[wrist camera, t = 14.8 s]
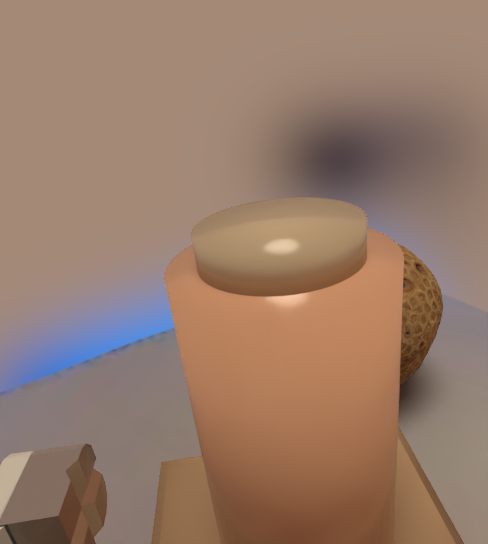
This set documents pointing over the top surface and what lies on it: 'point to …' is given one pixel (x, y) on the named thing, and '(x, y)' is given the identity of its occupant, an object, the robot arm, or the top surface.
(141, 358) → the top surface
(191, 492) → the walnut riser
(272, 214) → the terracotta jar
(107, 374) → the top surface
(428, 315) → the natural sponge
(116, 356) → the top surface
